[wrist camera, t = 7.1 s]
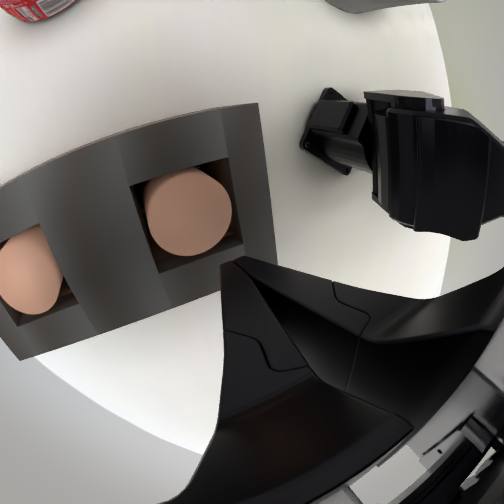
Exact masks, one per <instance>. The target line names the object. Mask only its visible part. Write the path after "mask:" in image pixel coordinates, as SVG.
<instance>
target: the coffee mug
mask: <svg viewBox="0 0 504 504" xmlns="http://www.w3.org/2000/svg"><path fill="white" fill-rule="evenodd" d="M326 1H327V2H328V3H330V4H331V5H333V6H335V7H336V8H339V9H341V10H343V11H346V12H349V13H363V12H367V11H372V10H378V9H383V8H389V7H396V6H403V5H412V4H422V3H437V2H444V1H446V0H326Z"/></svg>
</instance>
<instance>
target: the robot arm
mask: <svg viewBox="0 0 504 504" xmlns="http://www.w3.org/2000/svg"><path fill="white" fill-rule="evenodd" d="M329 91H330V94H329ZM364 98H365V99H366V103H360V102H353V101H348V100H347V99H345V98H344V97H343V96H342V95H341V94H339V93H338V92H337V91H336V90H334V89H333V88H326V89H325V90H324V92H323V94H322V96H321V99H320V101H318V103H317V105H316V108H315V110H314V112H313V114H312V116H311V118H310V121H309V123H308V127H307V129H306V131H305V133H304V135H303V137H302V140H301V142H300V147H301V149H303V150H304V151H306V152H308V153H309V154H311V155H313V156H314V157H316V158H318V159H319V160H321V161H322V162H324V163H326V164H327V165H329V166H330V167H332V168H333V169H335V170H337V171H338V172H340V173H341V174H343V175H348V174H349V173H350V171H351V169H352V167H353V168H356V169H359V170H362V171H365V172H368V173H371V174H372V176H373V192H372V199H373V200H374V201H375V202H376V203H377V204H378V205H379V206H381V207H382V208H383V209H384V210H385V211H386V212H387V213H388V214H389V217H391V218H392V219H393V220H395V221H397V222H398V223H399V224H401V225H403V226H404V227H408V228H411V229H413V230H414V231H416V232H434V233H440V234H444V235H447V236H450V237H453V238H456V239H459V240H461V241H468V240H475V239H476V238H478V236H479V232H480V227H481V225H483V224H485V223H487V222H490V221H492V220H495V219H497V218H500V217H504V141H501V140H500V139H499V138H497V136H495V135H494V134H493V133H492V132H491V131H490V130H489V129H488V128H486V127H485V126H484V125H483V124H482V123H481V122H480V121H479V120H477V119H476V118H475V117H474V116H472V115H471V114H470V113H469V112H468V111H466V110H463V109H458V108H452V107H446V106H444V98H442V97H439V96H436V95H432V94H429V93H425V92H419V91H407V90H383V91H365V92H364ZM306 142H307V146H306V147H305V143H306ZM345 169H346V171H345ZM220 286H221V305H222V321H223V339H224V363H223V376H222V385H221V394H220V403H219V412H218V418H217V424H216V428H215V431H214V434H213V436H212V438H211V440H210V442H209V444H208V446H207V448H206V450H205V452H204V454H203V456H202V458H201V460H200V462H199V464H198V466H197V468H196V470H195V472H194V474H193V476H192V478H191V480H190V482H189V483H188V485H187V486H186V487H185V489H184V490H183V491H181V492H180V493H179V494H178V495H177V496H175V497H173V498H172V499H170V500H168V501H165V502H162V503H159V504H363V503H362V502H361V501H360V499H359V498H358V497H357V496H356V495H355V493H354V492H353V491H352V490H351V488H350V487H349V486H350V485H352V484H353V483H354V482H356V481H357V480H358V479H360V478H361V477H362V476H363V475H365V474H366V473H367V472H369V471H370V470H371V469H372V468H374V467H375V466H378V467H379V466H381V465H382V464H383V463H384V462H385V461H387V460H388V459H390V458H391V457H392V456H393V455H394V454H396V453H397V452H398V451H399V450H400V449H401V448H403V447H404V446H405V445H406V444H407V445H408V446H409V447H410V448H411V449H412V450H413V451H414V453H415V454H416V455H417V456H418V457H419V458H420V460H419V462H420V463H421V464H422V465H423V466H424V467H425V468H426V469H427V471H426V472H425V473H424V474H423V475H422V476H421V477H420V478H419V479H417V480H416V481H415V482H414V483H413V484H412V485H411V486H409V487H408V488H407V489H406V490H405V491H404V492H402V493H401V494H400V495H399V496H398V497H396V498H395V499H394V500H392V501H391V502H390V503H388V504H504V267H503V268H502V269H501V270H499V271H497V272H496V273H494V274H492V275H490V276H488V277H486V278H483V279H481V280H479V281H477V282H474V283H472V284H469V285H467V286H465V287H462V288H460V289H457V290H455V291H452V292H450V293H447V294H444V295H442V296H439V297H436V298H432V299H414V298H408V297H403V296H397V295H392V294H387V293H381V292H376V291H371V290H367V289H362V288H358V287H354V286H350V285H346V284H342V283H339V282H335V281H333V282H332V281H331V280H328V279H324V278H321V277H317V276H314V275H310V274H307V273H303V272H300V271H296V270H293V269H289V268H286V267H283V266H279V265H276V264H272V263H269V262H265V261H262V260H258V259H255V258H251V257H248V256H241V257H238V258H235V259H233V261H231V260H230V261H227V262H224V263H222V264H220ZM490 447H492V448H493V449H494V450H495V451H496V452H495V453H493V454H492V455H491V456H490V457H489V458H488V459H487V460H486V461H485V462H484V463H483V464H482V465H481V466H480V468H479V469H478V470H477V472H476V474H475V475H474V476H472V477H470V478H468V479H466V478H467V477H468V476H469V475H470V474H471V472H472V471H473V470H474V469H475V467H476V466H477V465H478V463H479V462H480V461H481V460H482V458H483V457H484V456H485V454H486V453H487V451H488V450H489V449H490ZM465 479H466V480H465ZM464 481H465V482H464ZM463 482H464V483H463ZM462 483H463V484H462ZM461 484H462V485H461ZM460 485H461V486H460Z"/></svg>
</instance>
